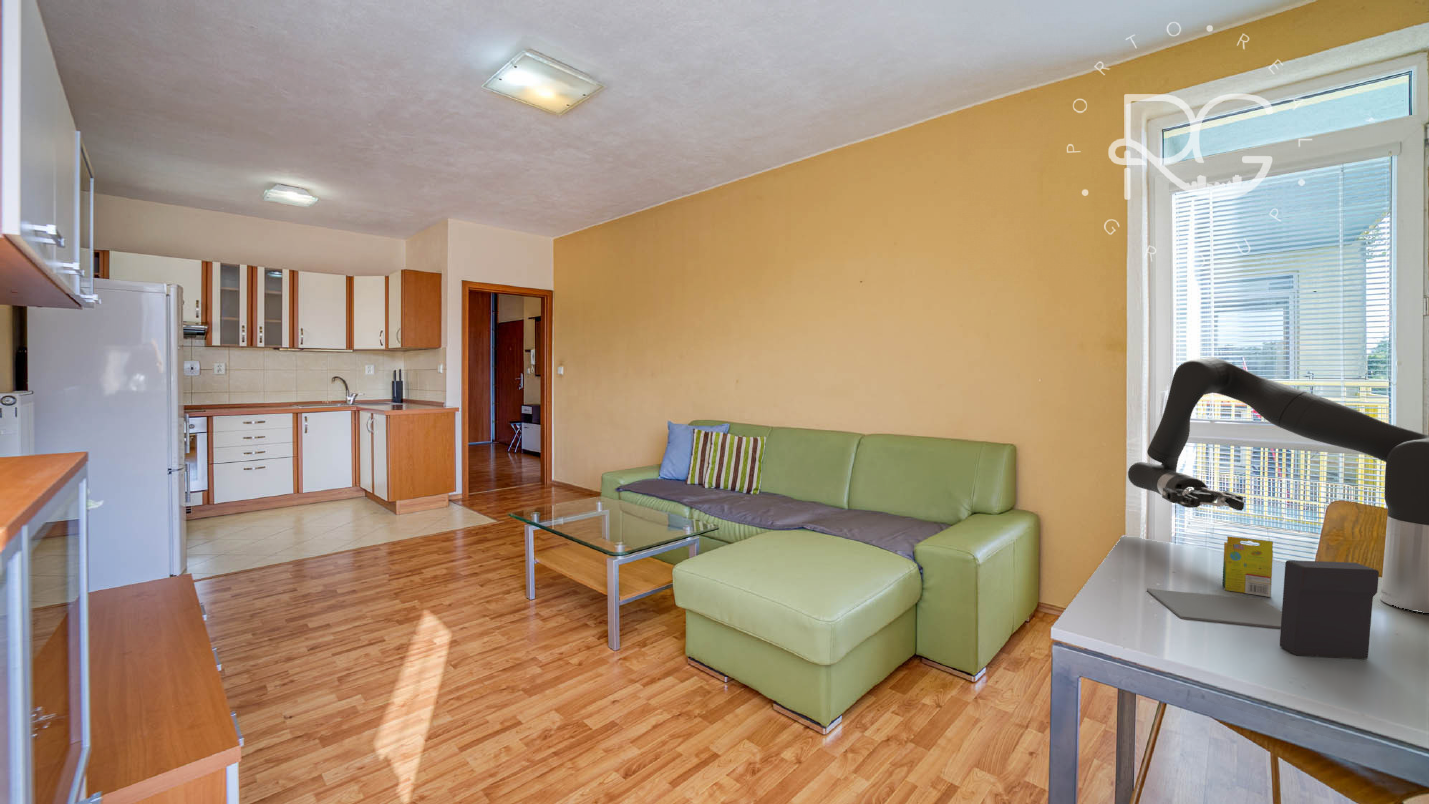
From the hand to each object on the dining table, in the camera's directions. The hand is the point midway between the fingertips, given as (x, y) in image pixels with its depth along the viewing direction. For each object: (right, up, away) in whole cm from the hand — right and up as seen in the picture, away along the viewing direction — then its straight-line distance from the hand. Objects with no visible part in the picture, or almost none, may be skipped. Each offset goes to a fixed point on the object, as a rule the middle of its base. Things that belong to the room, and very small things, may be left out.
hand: (1218, 504), depth 132 cm
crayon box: (-3, -17, -10) cm, 20 cm away
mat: (-16, -17, -19) cm, 30 cm away
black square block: (-14, -18, -36) cm, 43 cm away
